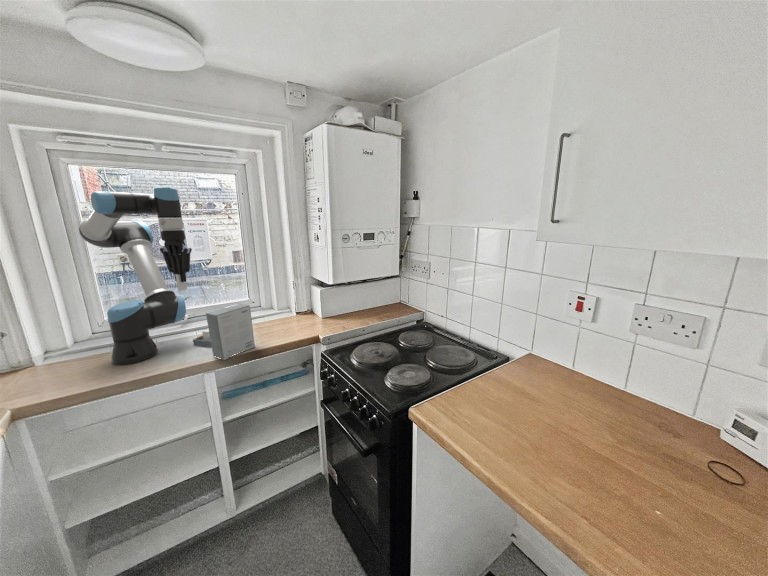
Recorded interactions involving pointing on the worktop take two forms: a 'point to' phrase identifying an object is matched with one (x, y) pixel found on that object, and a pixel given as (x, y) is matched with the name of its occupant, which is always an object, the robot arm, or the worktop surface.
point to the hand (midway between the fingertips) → (182, 289)
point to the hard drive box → (230, 330)
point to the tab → (206, 335)
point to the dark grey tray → (201, 342)
